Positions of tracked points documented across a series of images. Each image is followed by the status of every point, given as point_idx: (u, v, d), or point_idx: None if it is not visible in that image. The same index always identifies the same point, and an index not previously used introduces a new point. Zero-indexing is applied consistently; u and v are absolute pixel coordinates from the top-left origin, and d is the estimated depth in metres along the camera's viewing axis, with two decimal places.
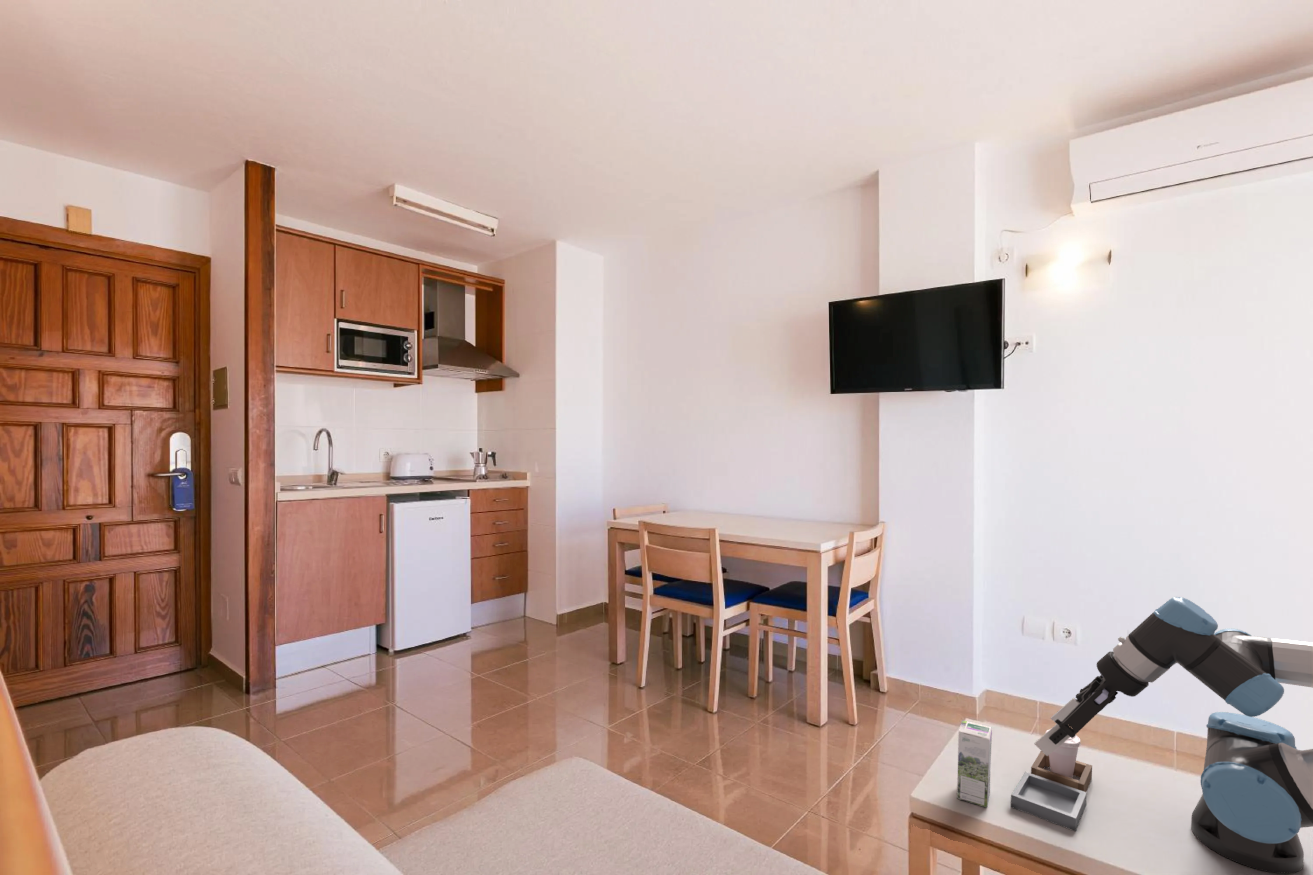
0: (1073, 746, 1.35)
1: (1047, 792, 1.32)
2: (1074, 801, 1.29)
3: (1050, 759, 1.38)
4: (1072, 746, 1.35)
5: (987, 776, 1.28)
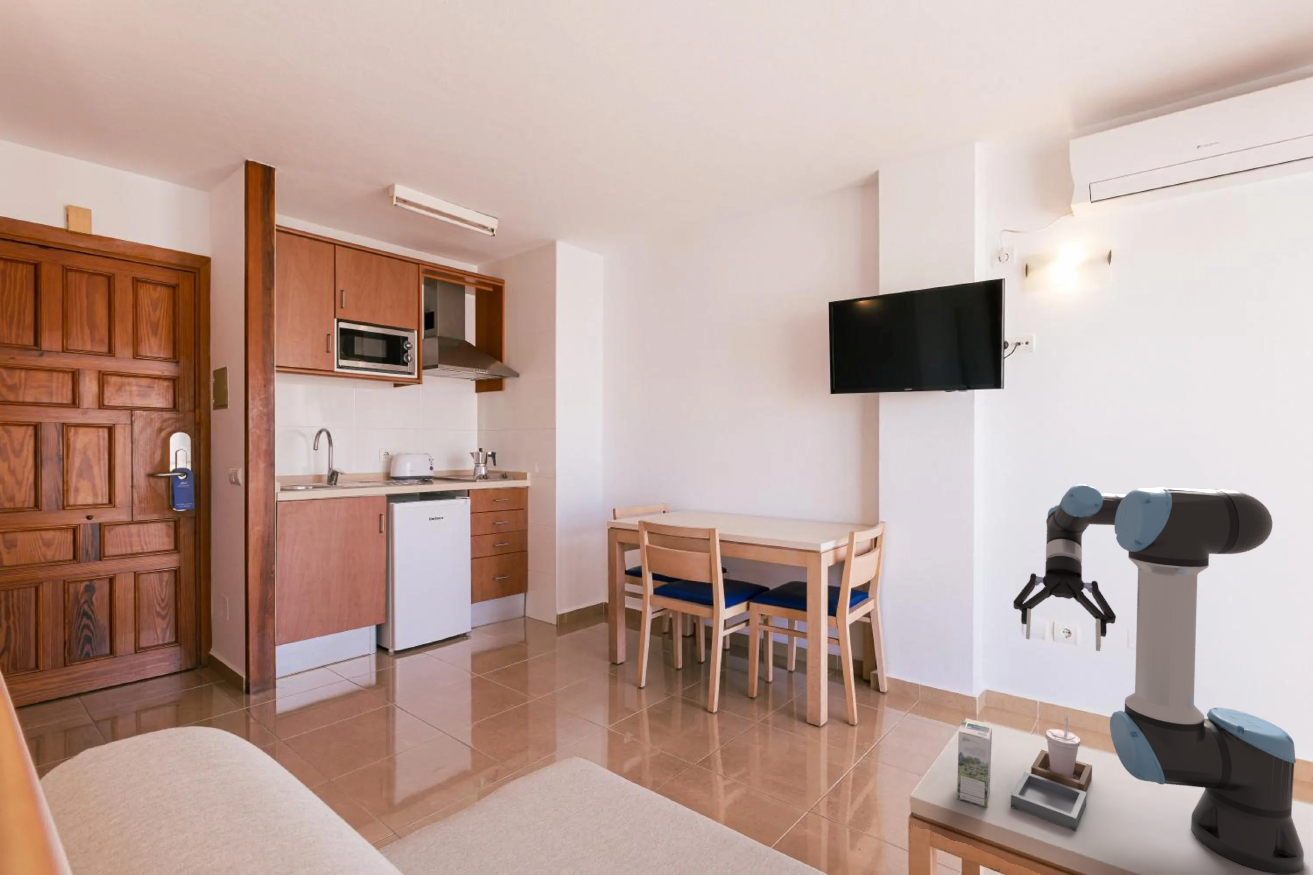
0: (1073, 746, 1.35)
1: (1047, 792, 1.32)
2: (1074, 801, 1.29)
3: (1050, 759, 1.38)
4: (1072, 746, 1.35)
5: (987, 776, 1.28)
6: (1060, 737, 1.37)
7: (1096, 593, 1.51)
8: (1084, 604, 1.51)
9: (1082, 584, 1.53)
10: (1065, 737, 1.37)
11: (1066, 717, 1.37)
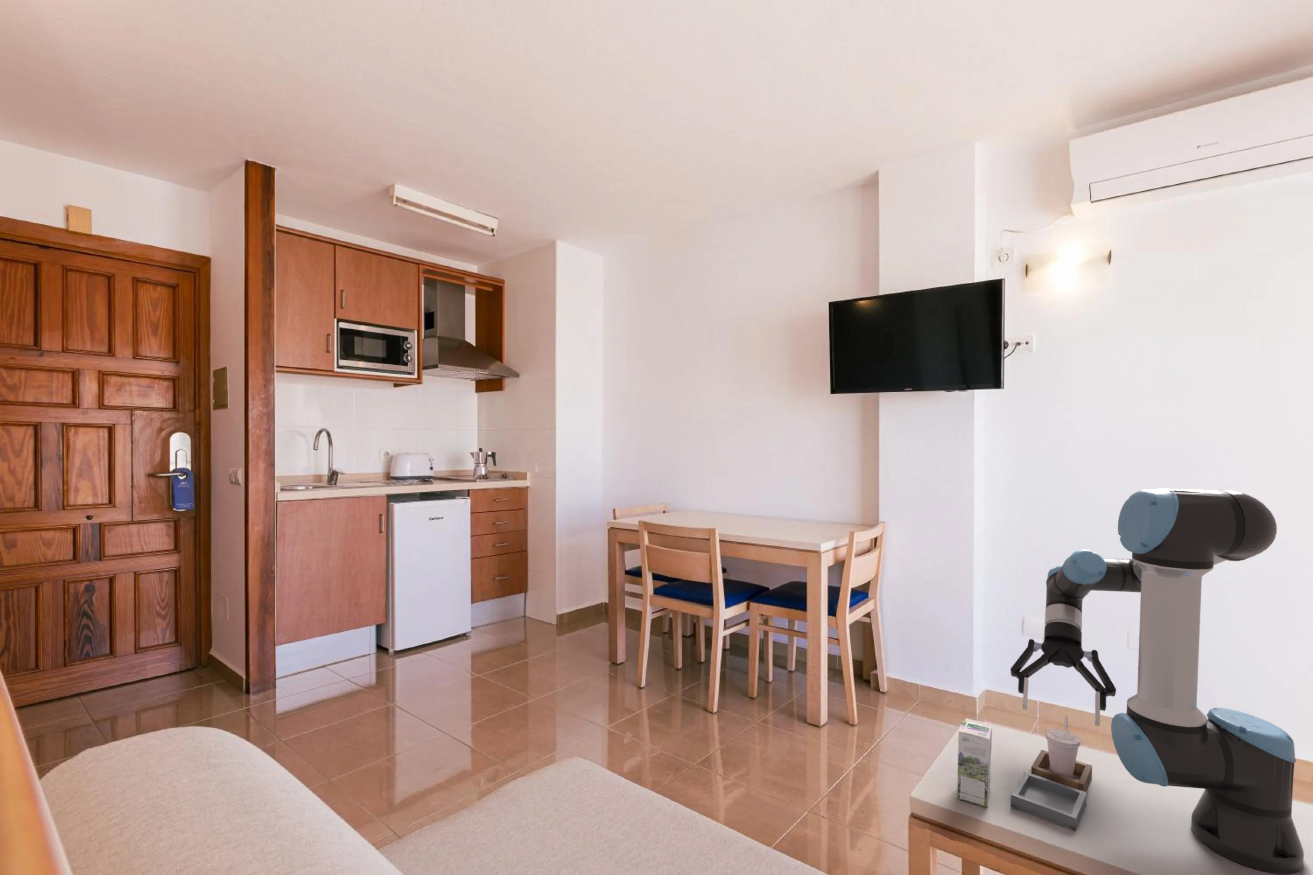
0: (1073, 746, 1.35)
1: (1047, 792, 1.32)
2: (1074, 801, 1.29)
3: (1050, 759, 1.38)
4: (1072, 746, 1.35)
5: (987, 776, 1.28)
6: (1060, 737, 1.37)
7: (1096, 663, 1.46)
8: (1084, 675, 1.46)
9: (1082, 653, 1.48)
10: (1065, 737, 1.37)
11: (1066, 717, 1.37)
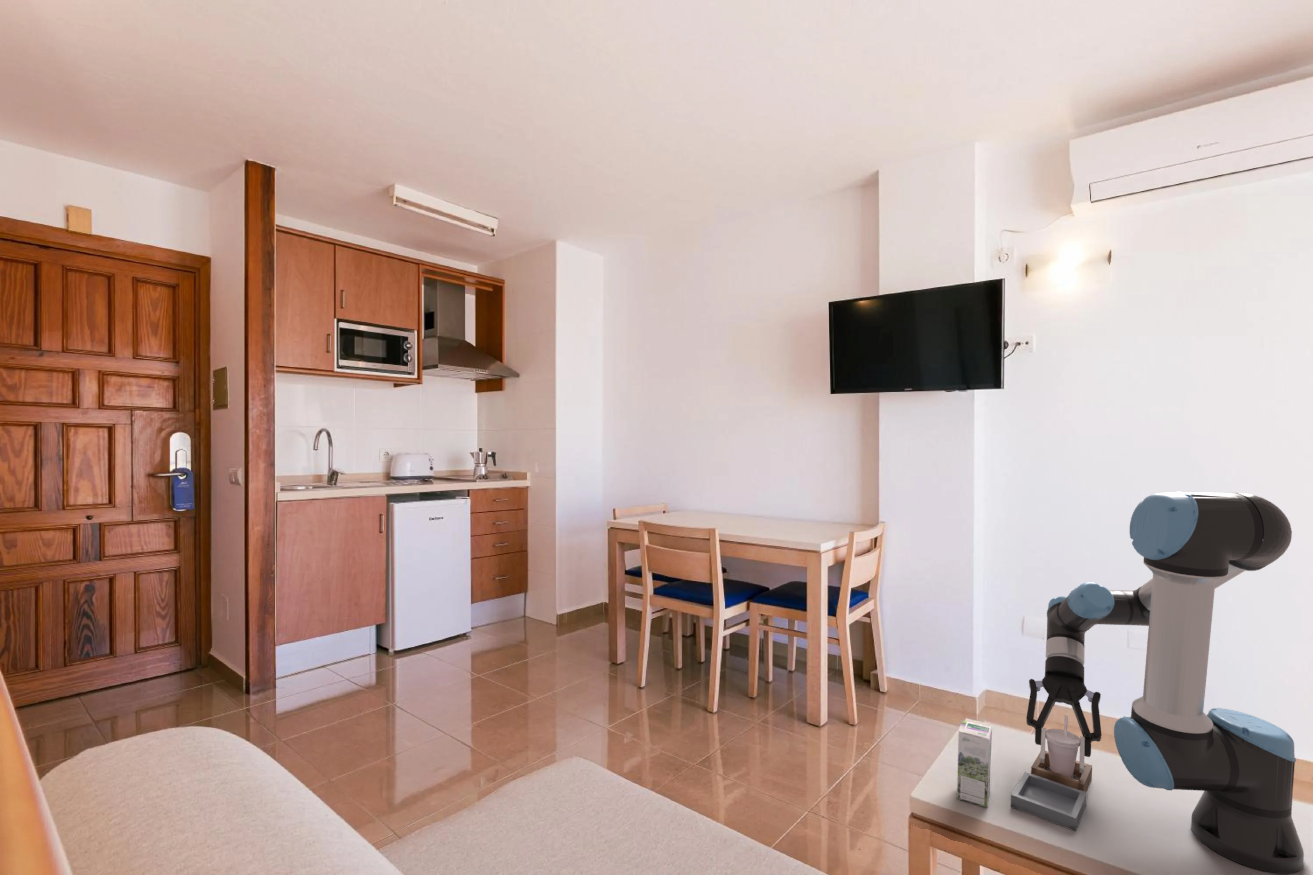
0: (1073, 746, 1.35)
1: (1047, 792, 1.32)
2: (1074, 801, 1.29)
3: (1050, 759, 1.38)
4: (1072, 746, 1.35)
5: (987, 776, 1.28)
6: (1060, 737, 1.37)
7: (1093, 705, 1.39)
8: (1076, 715, 1.40)
9: (1083, 691, 1.42)
10: (1065, 737, 1.37)
11: (1066, 717, 1.37)
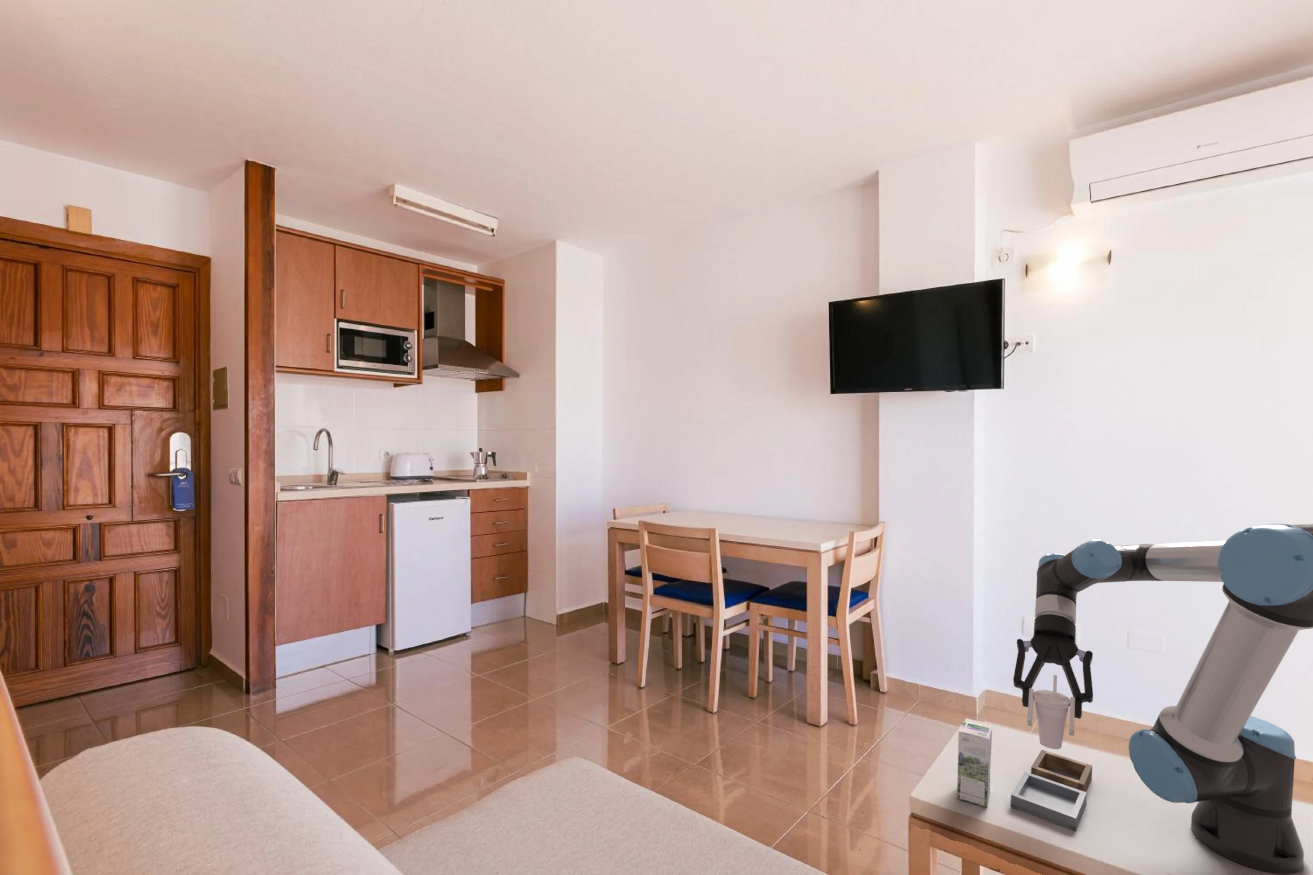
0: (1062, 707, 1.26)
1: (1047, 792, 1.32)
2: (1074, 801, 1.29)
3: (1038, 722, 1.29)
4: (1062, 707, 1.26)
5: (987, 776, 1.28)
6: (1049, 698, 1.28)
7: (1084, 664, 1.30)
8: (1066, 675, 1.31)
9: (1074, 650, 1.33)
10: (1054, 698, 1.28)
11: (1055, 676, 1.28)
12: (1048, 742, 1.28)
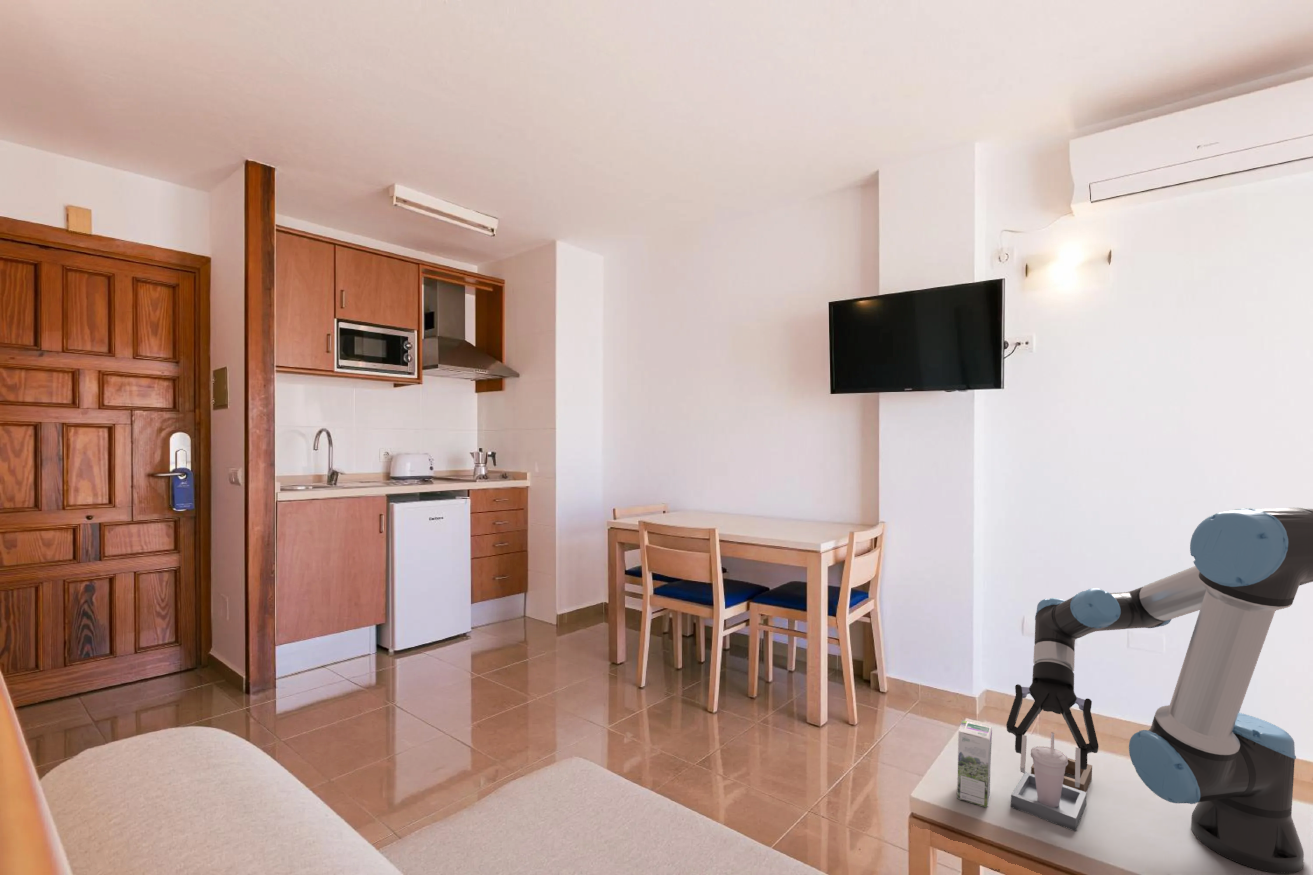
0: (1060, 765, 1.26)
1: None
2: (1074, 801, 1.29)
3: (1036, 779, 1.29)
4: (1059, 765, 1.26)
5: (987, 776, 1.28)
6: (1046, 755, 1.28)
7: (1085, 713, 1.30)
8: (1069, 725, 1.31)
9: (1073, 698, 1.33)
10: (1051, 755, 1.28)
11: (1052, 734, 1.29)
12: (1046, 800, 1.28)
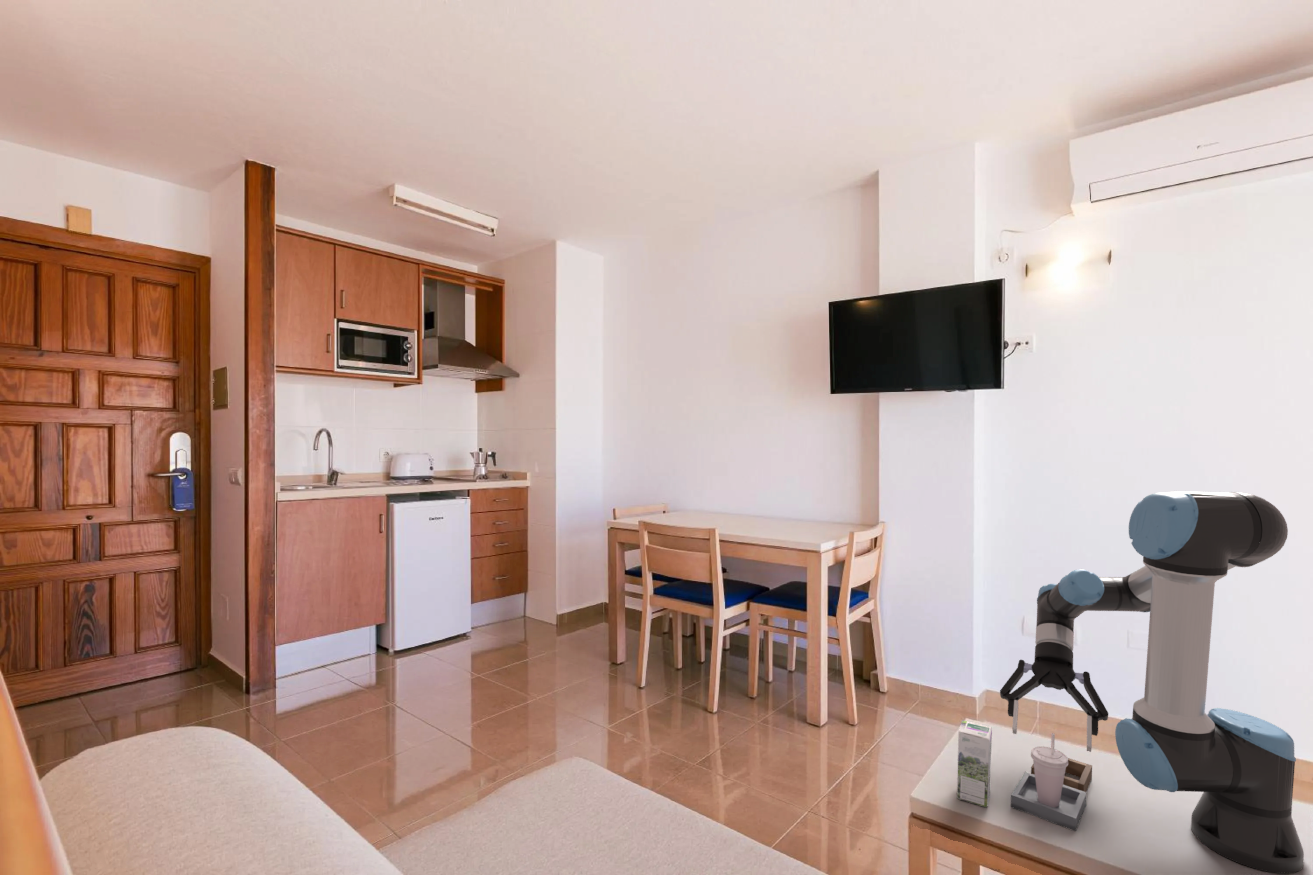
0: (1060, 766, 1.26)
1: None
2: (1074, 801, 1.29)
3: (1036, 779, 1.29)
4: (1060, 766, 1.26)
5: (987, 776, 1.28)
6: (1046, 756, 1.28)
7: (1088, 686, 1.41)
8: (1075, 697, 1.41)
9: (1073, 674, 1.44)
10: (1052, 756, 1.28)
11: (1053, 735, 1.28)
12: (1046, 800, 1.28)
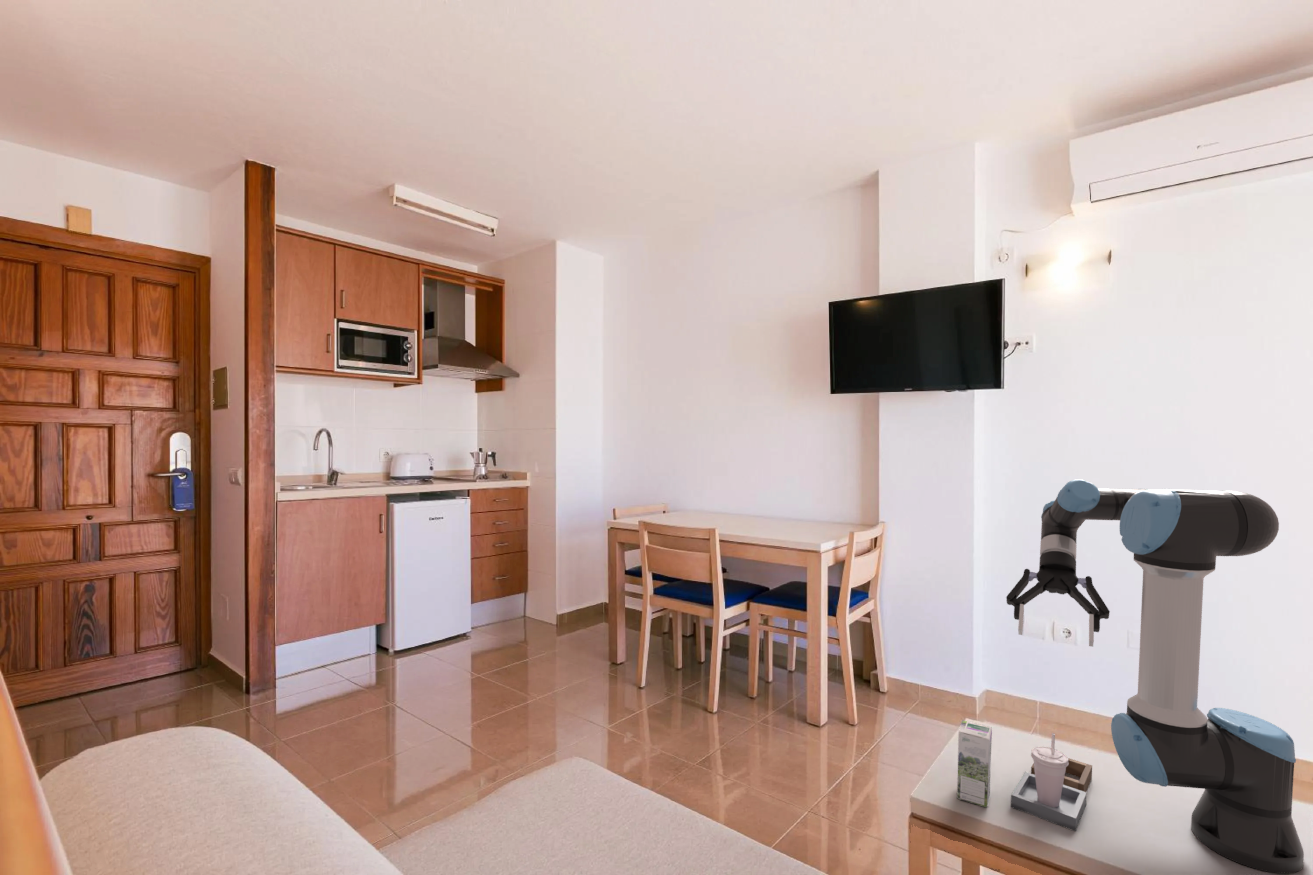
0: (1061, 766, 1.26)
1: None
2: (1074, 801, 1.29)
3: (1036, 779, 1.29)
4: (1060, 766, 1.26)
5: (987, 776, 1.28)
6: (1047, 756, 1.28)
7: (1090, 588, 1.49)
8: (1078, 600, 1.49)
9: (1076, 579, 1.51)
10: (1052, 756, 1.28)
11: (1053, 734, 1.28)
12: (1046, 800, 1.28)
